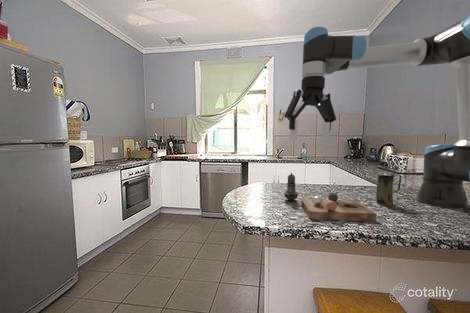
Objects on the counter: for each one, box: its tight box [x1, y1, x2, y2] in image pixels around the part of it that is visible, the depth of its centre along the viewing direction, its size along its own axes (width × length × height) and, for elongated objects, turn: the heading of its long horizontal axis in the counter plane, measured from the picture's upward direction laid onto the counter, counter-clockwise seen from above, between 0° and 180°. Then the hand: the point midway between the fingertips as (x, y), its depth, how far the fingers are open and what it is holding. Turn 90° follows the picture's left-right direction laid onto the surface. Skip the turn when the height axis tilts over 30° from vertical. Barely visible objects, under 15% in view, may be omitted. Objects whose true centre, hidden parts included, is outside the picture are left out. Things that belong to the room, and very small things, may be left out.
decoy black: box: [328, 192, 339, 202], centre depth 82 cm, size 3×3×3 cm
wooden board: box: [300, 199, 378, 222], centre depth 77 cm, size 20×14×2 cm
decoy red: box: [326, 201, 337, 211], centre depth 72 cm, size 3×3×3 cm
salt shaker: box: [283, 172, 299, 204], centre depth 91 cm, size 6×6×12 cm
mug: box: [375, 173, 402, 207], centre depth 87 cm, size 8×6×12 cm
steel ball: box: [311, 195, 323, 206], centre depth 78 cm, size 3×3×3 cm
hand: (309, 140), depth 78 cm, fingers open, 13 cm apart
